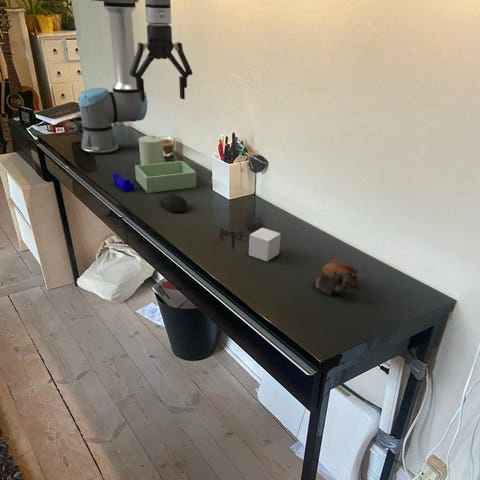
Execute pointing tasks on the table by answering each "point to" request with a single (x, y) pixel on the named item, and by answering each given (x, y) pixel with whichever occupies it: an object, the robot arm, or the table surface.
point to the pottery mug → (342, 282)
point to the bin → (165, 176)
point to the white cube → (264, 244)
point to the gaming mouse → (174, 203)
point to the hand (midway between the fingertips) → (162, 99)
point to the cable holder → (123, 183)
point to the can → (151, 150)
